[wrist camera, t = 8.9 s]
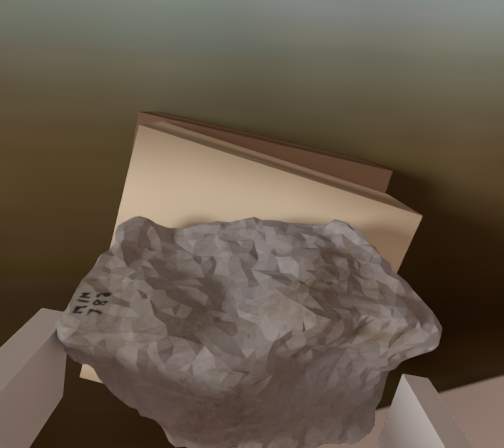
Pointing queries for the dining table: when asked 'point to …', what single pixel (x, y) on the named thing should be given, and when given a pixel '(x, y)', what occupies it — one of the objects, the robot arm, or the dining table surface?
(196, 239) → the stone
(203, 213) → the tower top
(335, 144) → the dining table surface
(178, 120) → the tower base
